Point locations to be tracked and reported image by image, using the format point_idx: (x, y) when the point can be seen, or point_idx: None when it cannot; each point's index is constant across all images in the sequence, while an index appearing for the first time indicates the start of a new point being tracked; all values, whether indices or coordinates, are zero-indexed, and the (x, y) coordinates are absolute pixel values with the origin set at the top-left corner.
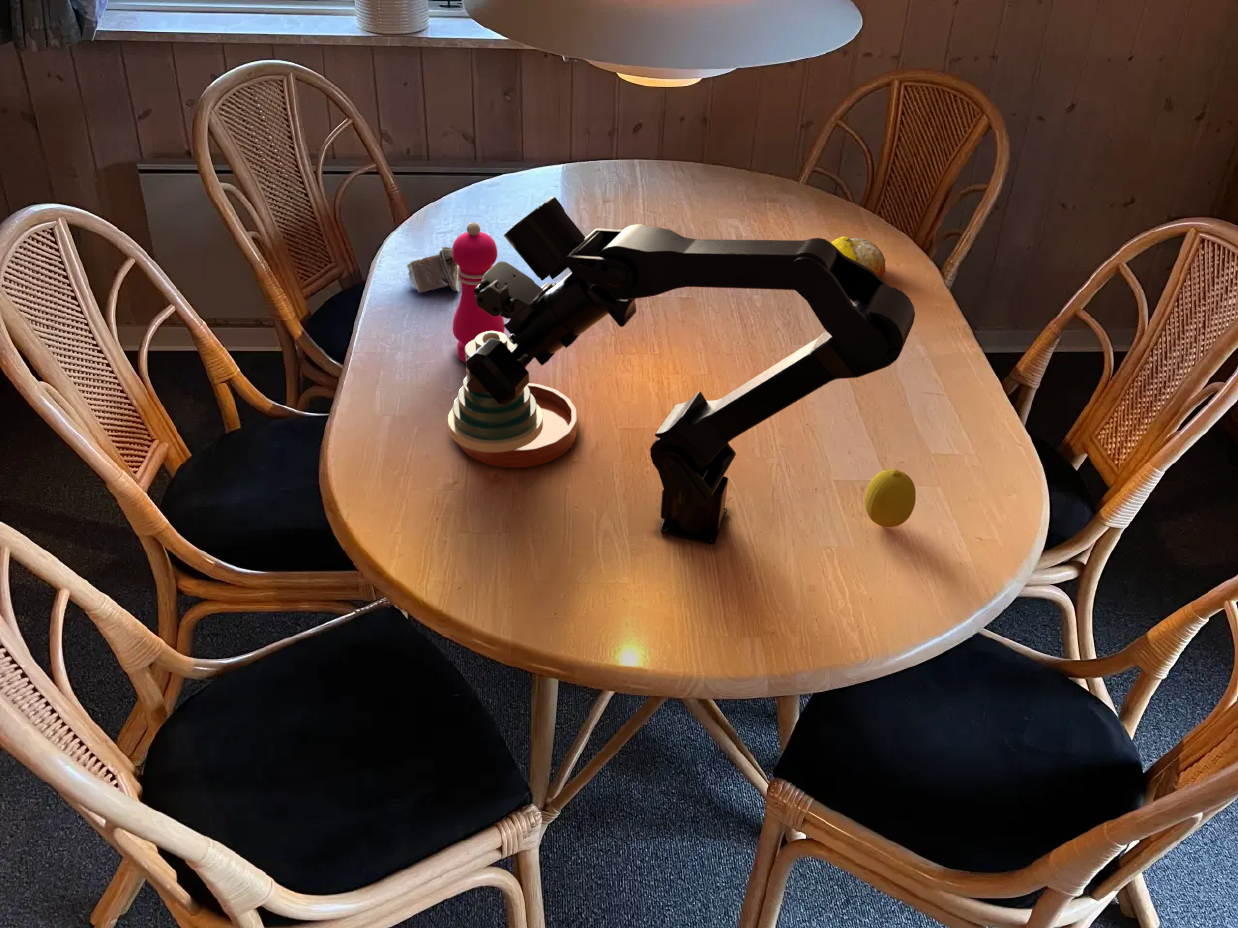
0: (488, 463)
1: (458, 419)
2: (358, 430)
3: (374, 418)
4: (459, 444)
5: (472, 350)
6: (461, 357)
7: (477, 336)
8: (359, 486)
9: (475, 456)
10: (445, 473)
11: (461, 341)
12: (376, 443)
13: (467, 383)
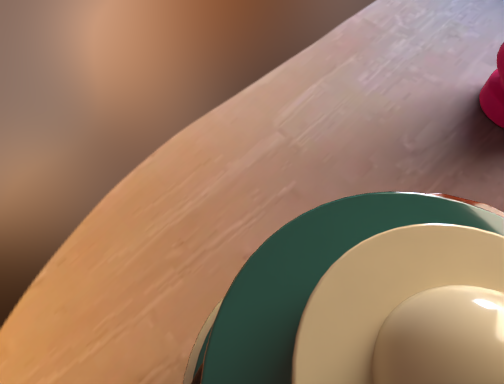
0: None
1: (198, 357)
2: (224, 134)
3: (263, 127)
4: None
5: (289, 291)
6: (482, 96)
7: (387, 239)
8: (111, 238)
9: None
10: None
11: (499, 72)
12: (217, 173)
13: (195, 375)
